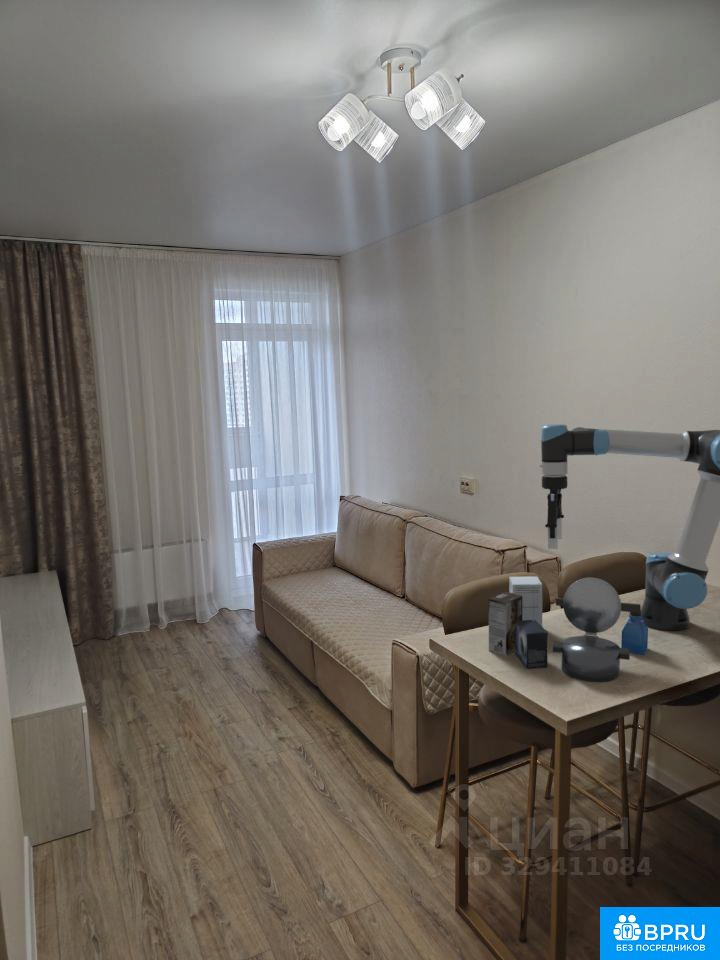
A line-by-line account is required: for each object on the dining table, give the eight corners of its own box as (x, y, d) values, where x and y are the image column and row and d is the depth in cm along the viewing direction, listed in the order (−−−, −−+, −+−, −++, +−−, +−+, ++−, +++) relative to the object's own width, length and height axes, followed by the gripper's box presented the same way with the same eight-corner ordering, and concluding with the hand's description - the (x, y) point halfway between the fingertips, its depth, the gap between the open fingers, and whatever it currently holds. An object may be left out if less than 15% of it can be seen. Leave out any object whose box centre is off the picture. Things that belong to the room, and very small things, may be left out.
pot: (627, 662, 184) (628, 638, 184) (629, 686, 169) (630, 660, 168) (554, 654, 191) (555, 631, 190) (550, 677, 176) (551, 652, 175)
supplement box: (538, 626, 215) (538, 576, 213) (543, 636, 206) (543, 584, 204) (508, 625, 216) (508, 575, 214) (512, 636, 207) (512, 583, 204)
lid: (639, 640, 182) (639, 638, 184) (641, 581, 182) (640, 580, 184) (555, 631, 190) (555, 630, 192) (556, 575, 190) (556, 574, 192)
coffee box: (504, 642, 202) (504, 591, 200) (523, 647, 197) (523, 595, 195) (487, 650, 195) (487, 598, 193) (506, 656, 191) (506, 602, 189)
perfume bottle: (643, 655, 189) (645, 615, 187) (621, 651, 192) (622, 612, 191) (647, 648, 194) (648, 609, 193) (625, 644, 197) (626, 606, 196)
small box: (513, 654, 192) (513, 620, 191) (535, 653, 192) (535, 618, 191) (525, 669, 181) (525, 632, 180) (548, 668, 182) (549, 631, 181)
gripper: (546, 470, 214) (546, 534, 216) (536, 480, 191) (537, 552, 193) (570, 470, 211) (570, 535, 213) (563, 480, 188) (564, 553, 190)
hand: (555, 543), depth 203 cm, fingers open, 13 cm apart
